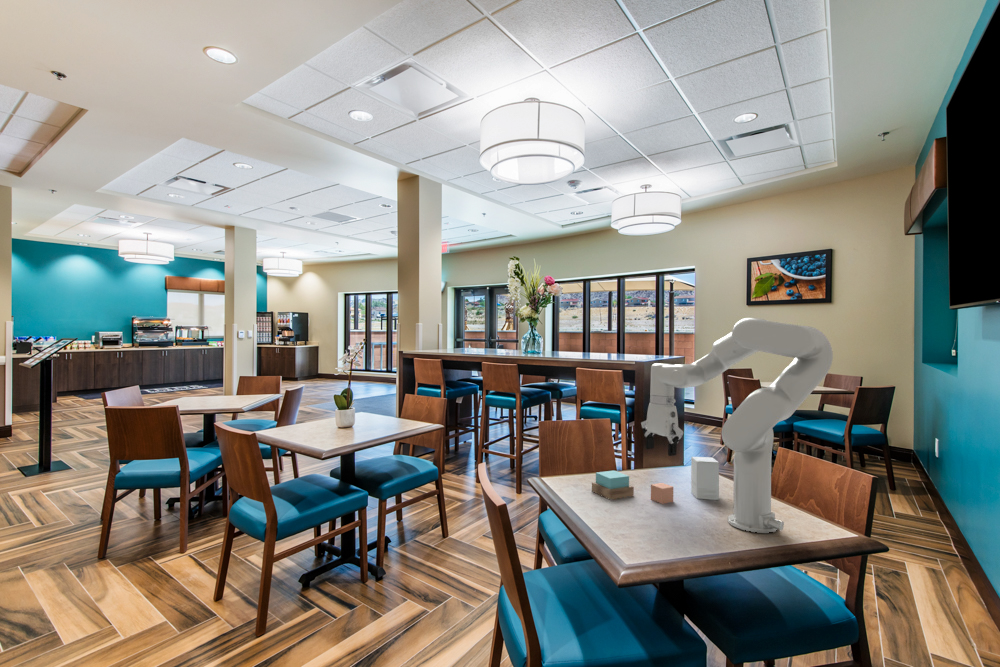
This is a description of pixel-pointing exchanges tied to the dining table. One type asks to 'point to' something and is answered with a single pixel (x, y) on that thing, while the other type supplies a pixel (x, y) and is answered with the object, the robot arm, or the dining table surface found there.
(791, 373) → the robot arm
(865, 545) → the dining table surface
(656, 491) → the salmon orange cube
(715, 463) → the supplement box
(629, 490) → the walnut base slab
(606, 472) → the teal top slab
